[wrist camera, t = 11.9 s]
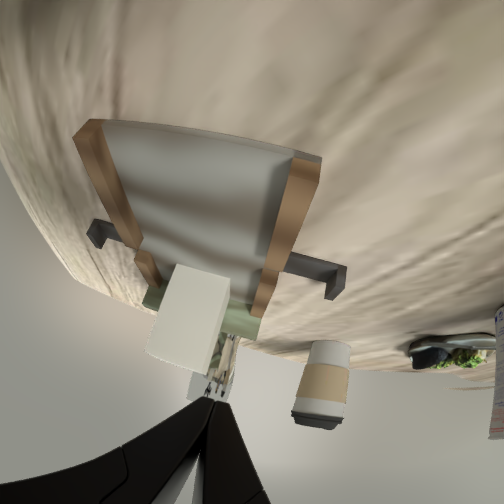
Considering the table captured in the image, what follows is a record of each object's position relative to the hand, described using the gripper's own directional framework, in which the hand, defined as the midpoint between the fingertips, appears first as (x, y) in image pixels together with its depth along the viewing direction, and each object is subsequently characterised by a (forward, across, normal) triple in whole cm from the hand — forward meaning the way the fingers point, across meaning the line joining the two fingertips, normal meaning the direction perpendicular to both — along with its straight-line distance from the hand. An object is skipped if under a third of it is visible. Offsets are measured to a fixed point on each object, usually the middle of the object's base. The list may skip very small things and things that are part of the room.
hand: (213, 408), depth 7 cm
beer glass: (+38, -2, -20) cm, 43 cm away
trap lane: (+19, -6, -1) cm, 20 cm away
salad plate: (+28, +34, -9) cm, 45 cm away
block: (+24, -5, -7) cm, 25 cm away
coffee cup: (+36, +16, -18) cm, 43 cm away
